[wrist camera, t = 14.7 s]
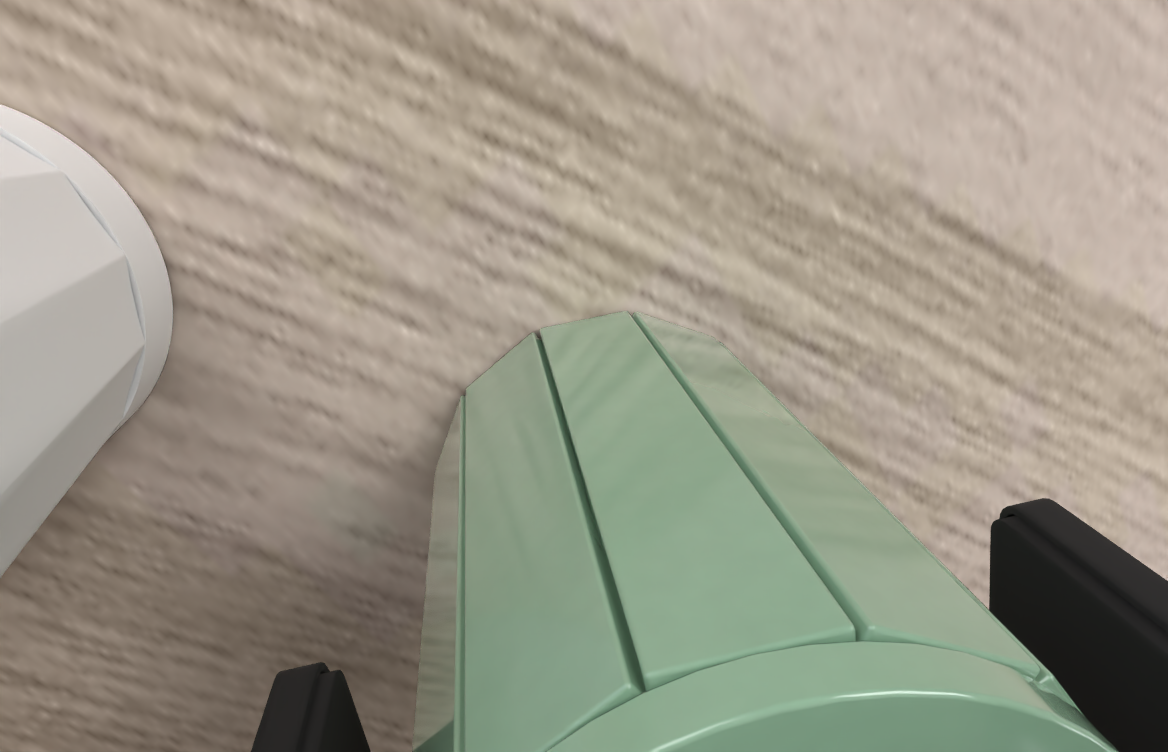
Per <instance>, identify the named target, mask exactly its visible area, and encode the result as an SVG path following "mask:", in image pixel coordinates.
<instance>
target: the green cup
mask: <svg viewBox="0 0 1168 752" xmlns="http://www.w3.org/2000/svg"><path fill="white" fill-rule="evenodd" d="M539 332H540V337H541V340H540V338H539V337H538V336H537V335H536V334H535V333H531V334H530V335H528V336H527V337H526V338H525V339H524V340H522V341H521V342H520V343H519V344H518V345H517V346H515V347H514V348H513V349H512V350H511V351H510V352H508V353H507V354H506V355H505V356H504V357H502V358H501V359H500V360H499V361H498V362H497V363H495V364H494V365H493V366H492V367H491V368H490V369H488V370H487V371H486V372H485V373H484V374H482V375H481V376H480V377H479V378H478V379H477V380H475V381H474V382H473V383H472V384H471V385H469V386H468V387H467V388H466V396H464V395H463V396H461V397H460V399H459V402H458V405H457V408H456V411H455V414H454V417H453V420H452V423H451V426H450V429H449V432H448V435H447V437H446V440H445V443H444V446H443V449H442V452H441V455H440V458H439V461H438V464H437V467H436V470H435V478H434V490H433V503H432V515H431V527H430V539H429V551H428V564H427V576H426V588H425V600H424V612H423V625H422V637H421V649H420V661H419V673H418V685H417V698H416V710H415V722H414V734H413V746H412V752H1119V751H1118V750H1117V749H1116V748H1115V747H1114V746H1113V745H1112V744H1111V743H1110V742H1109V741H1108V740H1107V739H1106V738H1105V737H1104V736H1103V735H1102V734H1101V733H1100V732H1099V731H1098V730H1097V729H1096V728H1095V727H1094V726H1093V725H1092V724H1091V723H1090V722H1089V721H1088V720H1087V718H1086V717H1085V716H1084V714H1083V713H1082V712H1081V710H1080V709H1079V708H1078V706H1077V705H1076V704H1075V702H1074V701H1073V700H1072V698H1071V697H1070V696H1069V695H1068V693H1067V692H1066V691H1065V689H1064V688H1063V687H1062V685H1061V684H1060V683H1059V681H1058V680H1057V679H1056V677H1055V676H1054V675H1053V674H1052V673H1051V672H1050V671H1049V670H1048V669H1047V668H1046V667H1045V666H1044V665H1043V664H1042V663H1041V662H1040V661H1039V660H1038V659H1037V658H1036V657H1035V656H1034V655H1033V654H1032V653H1031V652H1030V651H1029V650H1028V649H1027V648H1026V647H1025V646H1024V645H1023V644H1022V643H1021V642H1020V641H1019V640H1018V639H1017V638H1016V637H1015V636H1014V635H1013V634H1012V633H1011V632H1010V631H1009V630H1008V629H1007V628H1006V627H1005V626H1004V625H1003V624H1002V623H1001V622H1000V621H999V620H998V619H997V618H996V617H995V616H994V615H993V614H992V613H991V612H990V611H989V610H988V609H987V608H986V607H985V606H984V605H983V604H982V603H981V602H980V601H979V600H978V599H977V598H976V597H975V596H974V595H973V594H972V593H971V592H970V591H969V590H968V589H967V588H966V587H965V586H964V585H963V584H962V583H961V582H960V581H959V580H958V579H957V578H956V577H955V576H954V575H953V574H952V573H951V572H950V571H949V570H948V569H947V568H946V567H945V566H944V565H943V564H942V563H941V562H940V561H939V560H938V559H937V558H936V557H935V556H934V555H933V554H932V553H931V552H930V551H929V550H928V549H927V548H926V547H925V546H924V545H923V544H922V543H921V542H920V541H919V540H918V539H917V538H916V537H915V536H914V535H913V534H912V533H911V532H910V531H909V530H908V529H907V528H906V527H905V526H904V525H903V524H902V523H901V522H900V521H899V520H898V519H897V518H896V516H895V515H894V514H893V513H892V512H891V511H890V510H889V509H888V508H887V507H886V506H885V505H884V504H883V503H882V502H881V501H880V500H879V499H878V498H877V497H876V496H875V495H874V494H873V493H872V492H871V491H870V490H869V489H868V488H867V487H866V486H865V485H864V484H863V483H862V482H861V481H860V480H859V479H858V478H857V477H856V476H855V475H854V474H853V473H852V472H851V471H850V470H849V469H848V468H847V467H846V466H845V465H844V464H843V463H842V462H841V461H840V460H839V459H838V458H837V457H836V456H835V455H834V454H833V453H832V452H831V451H830V450H829V449H828V448H827V447H826V446H825V445H824V444H823V443H822V442H821V441H820V440H819V439H818V438H817V437H816V436H815V435H814V434H813V433H812V432H811V431H810V430H809V429H808V428H807V427H806V426H805V425H804V424H803V423H802V422H801V421H800V420H799V419H798V418H797V417H796V416H795V415H794V414H793V413H792V412H791V411H790V410H789V409H788V408H787V407H786V406H785V405H784V404H783V403H782V402H781V401H780V400H779V399H778V398H777V397H776V396H775V395H774V394H773V393H772V392H771V391H770V390H769V389H768V388H767V387H766V386H765V385H764V384H763V383H762V382H761V381H760V380H759V379H758V378H757V377H756V376H755V375H754V374H753V373H752V372H751V371H750V370H749V369H748V368H747V367H746V366H745V365H744V364H743V363H742V362H741V361H740V360H739V359H738V358H737V357H736V356H735V355H734V354H733V353H732V352H731V351H730V350H729V349H728V348H727V347H726V346H725V345H724V344H723V343H721V342H718V341H717V340H716V339H715V338H714V337H712V336H709V335H706V334H703V333H700V332H697V331H694V330H691V329H688V328H685V327H682V326H679V325H676V324H673V323H670V322H667V321H664V320H661V319H658V318H655V317H652V316H649V315H646V314H643V313H640V312H634V314H633V316H631V315H630V314H629V312H628V311H624V312H619V313H614V314H609V315H604V316H599V317H594V318H589V319H584V320H579V321H574V322H569V323H564V324H559V325H554V326H549V327H545V328H541V329H540V331H539Z"/></svg>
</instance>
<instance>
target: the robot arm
mask: <svg viewBox="0 0 1168 752" xmlns="http://www.w3.org/2000/svg"><path fill="white" fill-rule="evenodd" d="M989 611H990V612H991V613H992V614H993V615H994V616H995V617H996V618H997V619H998V620H999V621H1000V622H1001V623H1002V624H1003V625H1004V626H1005V627H1006V628H1007V629H1008V630H1009V631H1010V632H1011V633H1012V634H1013V635H1014V636H1015V637H1016V638H1017V639H1018V640H1019V641H1020V642H1021V643H1022V644H1023V645H1024V646H1025V647H1026V648H1027V649H1028V650H1029V651H1030V652H1031V653H1032V654H1033V655H1034V656H1035V657H1036V658H1037V659H1038V660H1039V661H1040V662H1041V663H1042V664H1043V665H1044V666H1045V667H1046V668H1047V669H1048V670H1049V671H1050V672H1051V673H1052V674H1053V675H1054V676H1055V677H1056V679H1057V680H1058V681H1059V683H1060V684H1061V685H1062V687H1063V688H1064V689H1065V691H1066V692H1067V693H1068V695H1069V696H1070V697H1071V698H1072V700H1073V701H1074V702H1075V704H1076V705H1077V706H1078V708H1079V709H1080V710H1081V712H1082V713H1083V714H1084V716H1085V717H1086V718H1087V720H1088V721H1089V722H1090V723H1091V724H1092V725H1093V726H1094V727H1095V728H1096V729H1097V730H1098V731H1099V732H1100V733H1101V734H1102V735H1103V736H1104V737H1105V738H1106V739H1107V740H1108V741H1109V742H1110V743H1111V744H1112V745H1113V746H1114V747H1115V748H1116V749H1117V750H1118V751H1119V752H1168V581H1167V580H1165V579H1164V578H1162V577H1161V576H1160V575H1158V574H1157V573H1155V572H1154V571H1152V570H1151V569H1150V568H1148V567H1147V566H1145V565H1144V564H1143V563H1141V562H1140V561H1138V560H1137V559H1135V558H1134V557H1133V556H1131V555H1130V554H1128V553H1127V552H1126V551H1124V550H1123V549H1121V548H1120V547H1118V546H1117V545H1116V544H1114V543H1113V542H1111V541H1110V540H1109V539H1107V538H1106V537H1104V536H1103V535H1101V534H1100V533H1099V532H1097V531H1096V530H1094V529H1093V528H1092V527H1090V526H1089V525H1087V524H1086V523H1084V522H1083V521H1082V520H1080V519H1079V518H1077V517H1076V516H1074V515H1073V514H1072V513H1070V512H1069V511H1067V510H1066V509H1065V508H1063V507H1062V506H1060V505H1059V504H1057V503H1056V502H1054V501H1052V500H1050V499H1045V498H1042V499H1038V500H1034V501H1029V502H1025V503H1020V504H1016V505H1012V506H1007V507H1006V508H1004V509H1003V510H1002V512H1001V513H1000V519H998V520H996V521H994V522H993V524H992V526H991V545H990V602H989ZM251 752H371V751H370V748H369V746H368V743H367V740H366V737H365V734H364V731H363V728H362V725H361V722H360V720H359V717H358V714H357V711H356V708H355V705H354V702H353V699H352V696H351V694H350V691H349V688H348V685H347V682H346V679H345V677H344V674H343V673H342V671H341V670H336V671H331V672H330V671H329V669H328V667H327V666H326V665H325V663H322V662H320V663H315V664H311V665H307V666H302V667H298V668H293V669H289V670H284V671H280V672H279V673H278V674H277V675H276V677H275V680H274V683H273V686H272V689H271V692H270V695H269V698H268V701H267V704H266V707H265V710H264V713H263V716H262V719H261V722H260V725H259V728H258V731H257V734H256V738H255V741H254V744H253V747H252V750H251Z"/></svg>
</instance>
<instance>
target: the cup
mask: <svg viewBox="0 0 1168 752" xmlns="http://www.w3.org/2000/svg"><path fill="white" fill-rule="evenodd" d="M172 326H173V304H172V294H171V287H170V282H169V277H168V273H167V270H166V266H165V263H164V260H163V257H162V254H161V251H160V249H159V246H158V244H157V242H156V240H155V237H154V235H153V233H152V231H151V229H150V228H149V226H148V224H147V222H146V220H145V219H144V217H143V216H142V214H141V212H140V211H139V209H138V208H137V206H136V205H135V203H134V202H133V201H132V199H131V198H130V197H129V195H128V194H127V193H126V192H125V190H124V189H123V188H122V187H121V186H120V184H119V183H118V182H117V181H116V180H115V179H114V178H113V177H112V176H111V175H110V174H109V173H108V171H107V170H106V169H105V168H103V167H102V166H101V165H100V164H99V163H98V162H97V161H96V160H95V159H94V158H93V157H91V156H90V155H89V154H88V153H87V152H85V151H84V150H83V149H82V148H80V147H79V146H78V145H76V144H75V143H74V142H72V141H71V140H69V139H68V138H66V137H65V136H63V135H62V134H60V133H59V132H57V131H56V130H54V129H52V128H51V127H49V126H47V125H45V124H44V123H42V122H40V121H38V120H36V119H34V118H32V117H30V116H28V115H26V114H24V113H21V112H19V111H17V110H14V109H12V108H9V107H7V106H4V105H1V104H0V578H1V576H2V575H3V574H4V572H5V571H6V570H7V568H8V567H9V566H10V565H11V563H12V562H13V561H14V559H15V558H16V557H17V556H18V554H19V553H20V552H21V550H22V549H23V548H24V546H25V545H26V544H27V543H28V541H29V540H30V539H31V537H32V536H33V535H34V534H35V532H36V531H37V530H38V528H39V527H40V526H41V524H42V523H43V522H44V521H45V519H46V518H47V517H48V515H49V514H50V513H51V512H52V510H53V509H54V508H55V506H56V505H57V504H58V502H59V501H60V500H61V499H62V497H63V496H64V495H65V493H66V492H67V491H68V490H69V488H70V487H71V486H72V484H73V483H74V482H75V480H76V479H77V478H78V477H79V475H80V474H81V473H82V471H83V470H84V469H85V468H86V466H87V465H88V464H89V462H90V461H91V460H92V458H93V457H94V456H95V455H96V453H97V452H98V451H99V449H100V448H101V447H102V446H103V444H104V443H105V442H106V441H107V440H108V439H109V438H110V437H111V436H112V435H113V434H114V433H115V432H116V431H117V430H118V429H119V428H120V427H121V426H122V425H123V424H124V423H125V422H126V421H127V420H128V419H129V418H130V417H131V416H132V415H133V414H134V413H135V412H136V411H137V410H138V409H139V407H140V406H141V405H142V404H143V403H144V401H145V400H146V399H147V397H148V396H149V394H150V393H151V391H152V390H153V388H154V386H155V384H156V382H157V381H158V379H159V376H160V374H161V372H162V370H163V367H164V364H165V362H166V358H167V355H168V351H169V347H170V342H171V336H172Z"/></svg>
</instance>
